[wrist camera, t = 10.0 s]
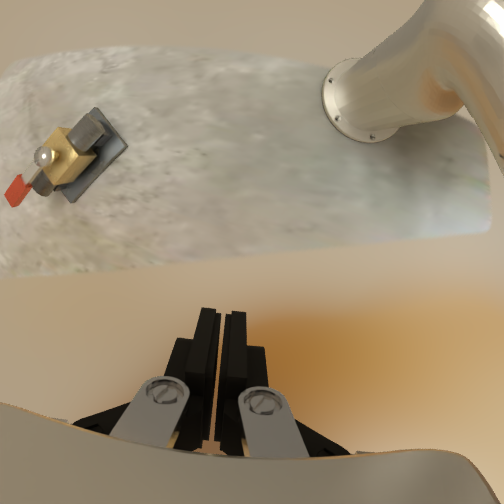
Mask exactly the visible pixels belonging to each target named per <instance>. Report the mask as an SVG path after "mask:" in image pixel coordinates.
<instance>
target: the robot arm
mask: <svg viewBox="0 0 504 504" xmlns="http://www.w3.org/2000/svg"><path fill="white" fill-rule="evenodd" d="M329 81H331V83H329ZM322 102H323V106H324V110H325V112H326V114H327V116H328V118H329V119H330V121H331V122H332V124H333V125H334V126H335V127H336V128H337V129H338V130H339V131H340V132H341V133H343V134H344V135H345V136H347V137H349V138H351V139H353V140H356V141H359V142H365V143H374V142H379V141H383V140H385V139H388V138H389V137H391V136H392V135H393V134H395V133H396V131H397V130H398V129H399V128H400V127H401V126H407V125H413V124H419V123H426V122H431V121H438V120H443V119H446V118H448V117H450V116H452V115H454V114H455V113H456V112H458V111H459V109H460V108H461V107H462V106H463V105H465V107H466V108H467V110H468V111H469V113H470V115H471V116H472V117H473V118H474V120H475V122H476V124H477V125H478V127H479V129H480V131H481V132H482V134H483V136H484V138H485V140H486V142H487V144H488V146H489V148H490V150H491V152H492V153H493V155H494V158H495V160H496V162H497V164H498V166H499V168H500V170H501V172H502V174H503V176H504V0H425V1H424V2H423V3H422V5H421V6H420V7H419V9H418V10H417V11H416V12H415V14H414V15H413V16H412V17H411V18H410V19H409V20H408V21H407V22H406V23H405V24H404V25H403V26H402V27H400V28H399V29H398V30H397V31H396V32H394V33H393V34H392V35H390V36H389V37H388V38H387V39H386V40H384V41H383V42H382V43H381V44H379V45H378V46H377V47H376V48H374V49H373V50H372V51H371V52H369V53H368V54H367V55H365V56H364V57H363V58H351V59H347V60H344V61H342V62H340V63H338V64H337V65H336V66H334V67H333V68H332V69H331V70H330V71H329V73H328V74H327V76H326V77H325V80H324V83H323V86H322ZM335 118H337V119H338V120H337V121H335ZM370 136H371V137H372V138H371V139H370ZM220 323H221V313H216V309H211V308H202V309H201V312H200V316H199V320H198V323H197V327H196V331H195V334H194V338H193V339H185V338H177V340H176V342H175V345H174V348H173V350H172V354H171V356H170V359H169V362H168V365H167V368H166V371H165V374H164V376H158V377H154V378H151V379H149V380H147V381H146V382H145V383H144V384H143V385H142V386H141V388H140V389H139V391H138V392H137V394H136V395H135V397H134V398H133V400H132V401H131V402H129V403H126V404H123V405H121V406H118V407H115V408H112V409H109V410H106V411H104V412H101V413H98V414H95V415H92V416H88V417H86V418H82V419H80V420H78V421H76V422H74V423H73V424H69V423H68V420H63V419H56V418H50V417H46V416H43V415H40V414H38V413H35V412H32V411H29V410H26V409H23V408H20V407H17V406H13V405H10V404H6V403H1V402H0V504H501V503H500V502H499V500H498V498H497V497H496V495H495V493H494V491H493V490H492V488H491V487H490V485H489V484H488V482H487V481H486V479H485V478H484V476H483V475H482V474H481V472H480V471H479V470H478V468H477V467H476V466H475V465H474V464H473V463H472V462H471V461H470V460H469V459H467V458H466V457H465V456H463V455H461V454H458V453H454V452H451V451H445V450H437V449H408V450H407V449H406V450H395V451H387V452H376V453H375V452H361V451H356V453H355V454H350V453H349V452H348V451H347V450H345V449H344V448H343V447H341V446H340V445H338V444H336V443H334V442H333V441H331V440H329V439H327V438H326V437H324V436H322V435H320V434H319V433H317V432H315V431H314V430H312V429H310V428H309V427H307V426H305V425H304V424H302V423H300V422H299V421H297V420H296V419H294V417H293V414H292V412H291V410H290V407H289V404H288V402H287V400H286V398H285V397H284V395H282V394H281V393H280V392H279V391H276V390H274V389H272V388H269V386H268V377H267V367H266V358H265V349H264V347H260V346H247V335H246V334H247V333H246V312H239V311H232V314H226V317H225V326H224V336H223V345H222V354H221V364H220V374H219V385H218V398H217V409H216V422H215V436H214V441H219V442H220V450H221V451H223V452H225V453H226V454H227V455H219V454H208V453H200V452H192V451H194V450H196V449H197V448H202V442H203V440H209V435H210V425H211V416H212V415H211V414H212V407H213V398H214V388H215V380H216V370H217V358H218V346H219V334H220Z"/></svg>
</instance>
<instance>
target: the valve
mask: <svg viewBox="0 0 504 504" xmlns="http://www.w3.org/2000/svg"><path fill="white" fill-rule="evenodd" d="M43 146H49V147H51V148H52V149H53V151H54V160H53V162H52V164H51V165H49V166H45V167H43V168H42V170H41V171H40V172H39V173H38V175H37V176H36V177H35V179H34V180H33V181H32V182H31V185H32V186H33V189H34V190H35V191H36V192H37V193H38V194H39V195H41V196H45V197H46V196H49V194H50V193H51V192H52V191H59V190H61V191H62V192H63V194H64V195H65V196H66V198H67V199H68V201H69V202H70V203H74V202H75V201H76V200H77V199H78V198H79V197H80V196H81V194H82V193H83V192H84V191H85V190H86V189H87V188H88V187H89V186H90V185H91V184H92V182H93V181H94V180H95V179H96V178H97V177H98V176H99V175H100V174H101V173H102V172H103V171H104V170H105V169H106V168H107V167H108V166H109V165H110V164H111V163H112V162H113V161H114V160H115V159H116V158H117V157H118V156H119V155H120V154H121V153H122V152H123V151H124V150H125V149H126V148H127V147H128V146H127V145H126V143H125V142H124V141H123V139H122V138H121V137H120V136H119V134H118V133H117V132H116V131H115V129H114V128H113V127H112V126H111V124H110V123H109V122H108V120H107V119H106V118H105V117H104V115H103V114H102V113H101V111H100V110H99V109H98V108H96V107H94V108H93V109H92V110H91V111H90V112H89V113H87V114H86V115H85V116H84V117H83V118H82V119H81V120H80V121H79V122H78V123H77V124H76V125H75V126H74V128H73V129H70V128H62V127H57V129H56V130H55V131H54V132H53V133H52V135H51V136H50V137H49V138H48V139H47V141H46V142H45V143H44V144H43Z"/></svg>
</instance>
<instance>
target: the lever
mask: <svg viewBox="0 0 504 504" xmlns="http://www.w3.org/2000/svg"><path fill="white" fill-rule="evenodd" d="M53 160H54V151H53V149H52V148H51V147H49V146H41V147H39V148H38V149H37V150H36V152H35V154H34V160H33V161H32V162H31V164H30V165H29V166H28V168H27V169H26V170H25V172H24V173H23V174H20V175H17V177H16V178H15V179H14V181H13V182H12V184H11V185H10V187H9V188H8V190H7V191H6V193H5V194H4V195H5V197H6V199H7V200H8V202H9V204H10V205H11V207H16V206H19V205H20V203H21V202H22V200H23V199H24V198H25V196H26V195H27V194H28V192H29V191H30V190H31V188H32V187H33V186H32V185H31V182H32V181H33V180H34V179H35V177H36V176H37V175H38V173H39V172H40V171H41V170H42V168H43V167H45V166H49V165H51V164H52V162H53Z"/></svg>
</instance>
